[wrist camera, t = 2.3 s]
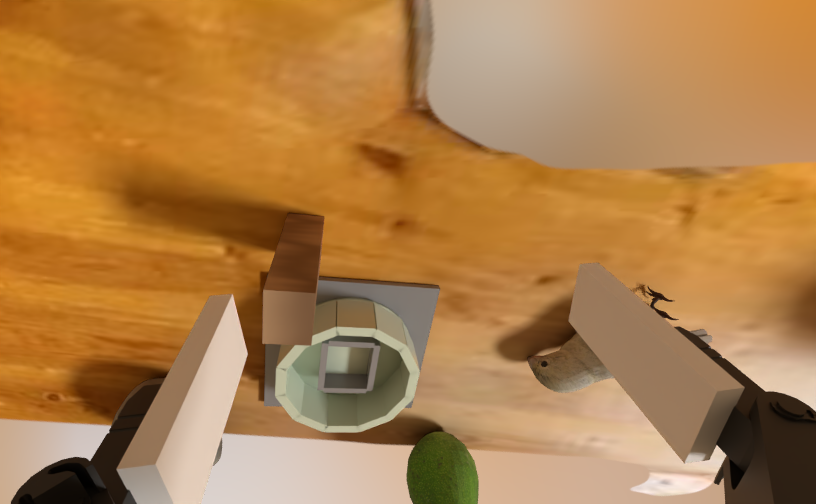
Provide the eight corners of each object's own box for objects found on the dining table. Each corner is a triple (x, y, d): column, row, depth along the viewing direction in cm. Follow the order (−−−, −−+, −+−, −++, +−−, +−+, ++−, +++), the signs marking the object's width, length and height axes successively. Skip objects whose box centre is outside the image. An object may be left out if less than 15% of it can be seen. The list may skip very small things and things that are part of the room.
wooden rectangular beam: (286, 254, 36) (262, 343, 25) (288, 212, 34) (263, 289, 24) (320, 257, 36) (311, 345, 26) (324, 216, 35) (315, 293, 24)
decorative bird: (517, 343, 45) (547, 394, 38) (653, 277, 43) (709, 318, 37) (532, 373, 47) (563, 426, 41) (661, 311, 46) (715, 356, 39)
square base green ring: (265, 401, 43) (255, 444, 39) (268, 272, 36) (257, 306, 32) (410, 403, 47) (417, 442, 42) (438, 285, 40) (451, 317, 35)
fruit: (446, 406, 48) (475, 510, 37) (475, 440, 51) (509, 544, 41) (389, 436, 49) (402, 545, 38) (422, 468, 52) (441, 576, 42)
